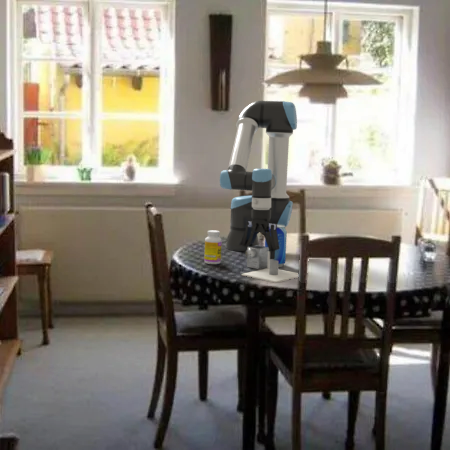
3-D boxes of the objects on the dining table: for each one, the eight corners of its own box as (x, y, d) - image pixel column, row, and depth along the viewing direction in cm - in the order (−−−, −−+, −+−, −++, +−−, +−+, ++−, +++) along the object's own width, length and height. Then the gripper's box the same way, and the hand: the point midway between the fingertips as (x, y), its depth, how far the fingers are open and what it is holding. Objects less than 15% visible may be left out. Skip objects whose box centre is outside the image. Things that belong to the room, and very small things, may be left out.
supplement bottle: (218, 265, 311) (220, 232, 309) (202, 263, 312) (203, 231, 311) (222, 262, 318) (223, 230, 316) (206, 260, 319) (207, 229, 317)
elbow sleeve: (256, 264, 315) (257, 245, 313) (268, 267, 311) (269, 247, 310) (242, 267, 308) (243, 247, 307) (254, 270, 304) (255, 249, 303)
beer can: (261, 266, 313) (263, 226, 310) (267, 262, 321) (269, 223, 318) (281, 268, 310) (283, 227, 308) (287, 264, 318) (289, 225, 315)
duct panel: (271, 269, 307) (271, 255, 306) (305, 276, 297) (305, 261, 296) (241, 275, 294) (242, 260, 293) (275, 282, 283) (276, 267, 283)
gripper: (233, 207, 311) (232, 263, 314) (278, 211, 297) (276, 270, 300) (245, 205, 317) (244, 261, 319) (289, 210, 303) (288, 268, 305)
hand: (260, 265), depth 309 cm, fingers open, 9 cm apart
